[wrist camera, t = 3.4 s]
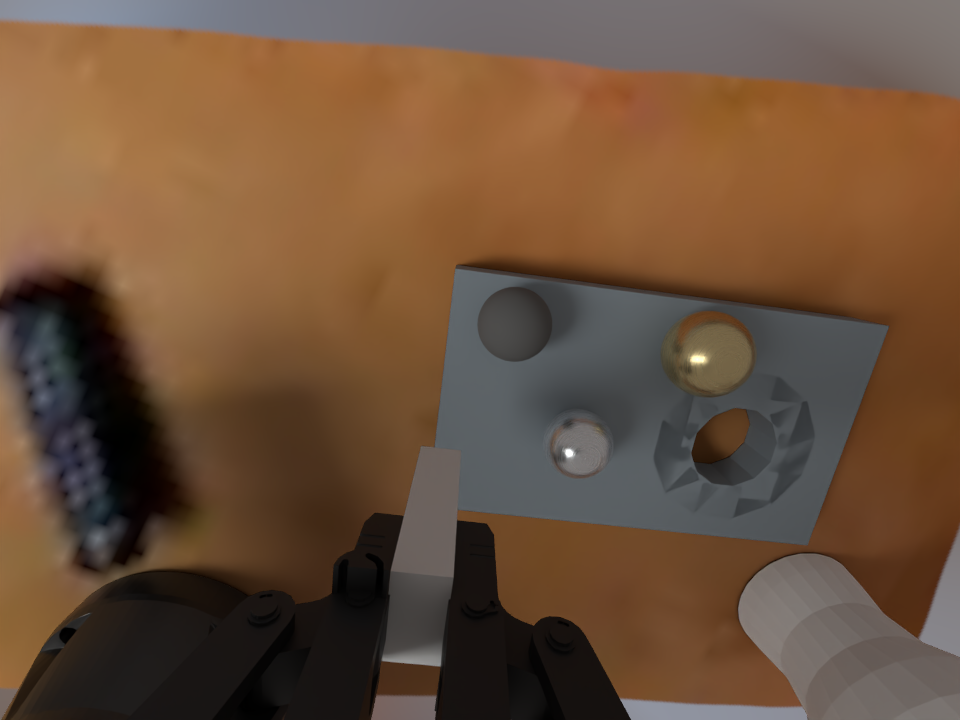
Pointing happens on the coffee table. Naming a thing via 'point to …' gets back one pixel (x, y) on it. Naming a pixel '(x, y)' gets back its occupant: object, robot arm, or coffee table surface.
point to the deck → (651, 411)
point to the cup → (844, 646)
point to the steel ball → (578, 444)
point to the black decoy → (514, 324)
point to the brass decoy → (708, 354)
